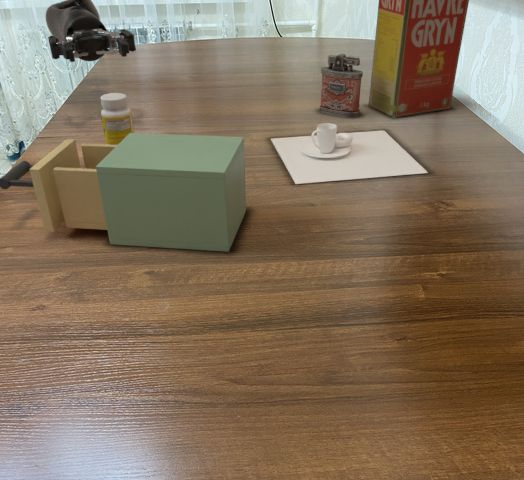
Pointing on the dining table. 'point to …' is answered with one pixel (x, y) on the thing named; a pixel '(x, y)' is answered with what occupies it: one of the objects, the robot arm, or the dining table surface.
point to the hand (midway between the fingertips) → (98, 52)
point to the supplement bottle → (116, 117)
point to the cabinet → (174, 191)
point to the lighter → (341, 86)
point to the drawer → (65, 185)
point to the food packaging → (416, 55)
